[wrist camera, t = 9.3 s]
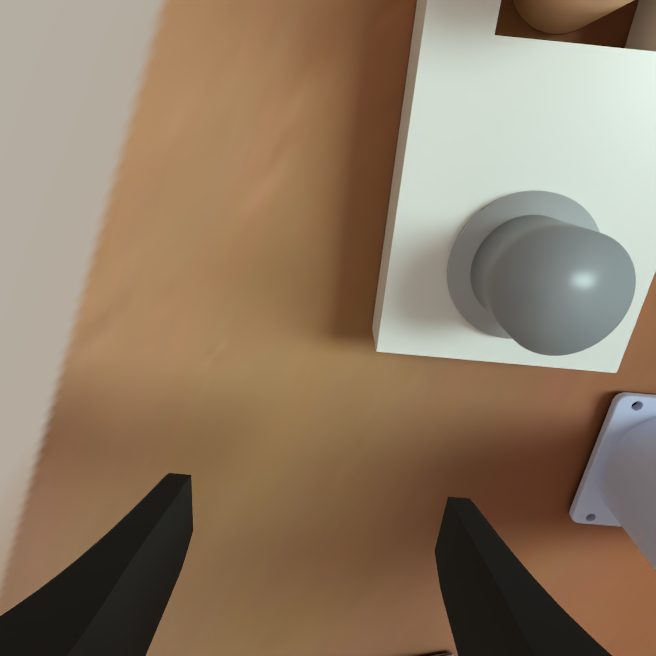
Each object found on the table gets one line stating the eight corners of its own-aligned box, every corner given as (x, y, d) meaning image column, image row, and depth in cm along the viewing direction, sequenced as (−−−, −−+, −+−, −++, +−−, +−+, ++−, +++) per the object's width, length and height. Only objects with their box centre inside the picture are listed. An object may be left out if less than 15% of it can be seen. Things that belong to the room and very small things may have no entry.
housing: (763, -175, 14) (1055, -396, 8) (584, 347, 20) (677, 421, 15) (446, -210, 14) (522, -461, 8) (371, 328, 20) (385, 395, 15)
